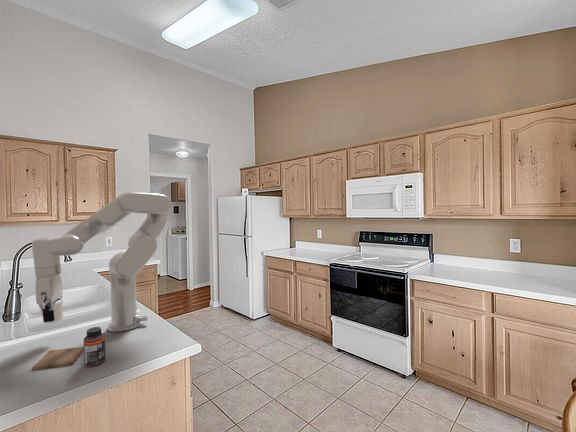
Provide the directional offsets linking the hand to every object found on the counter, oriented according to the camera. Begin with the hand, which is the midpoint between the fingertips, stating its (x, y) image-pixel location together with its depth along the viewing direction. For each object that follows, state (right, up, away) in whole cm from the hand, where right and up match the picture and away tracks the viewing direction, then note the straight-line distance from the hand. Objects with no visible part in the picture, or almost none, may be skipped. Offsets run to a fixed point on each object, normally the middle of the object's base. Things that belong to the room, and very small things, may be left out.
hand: (53, 317), depth 112 cm
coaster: (+11, -10, -11) cm, 19 cm away
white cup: (0, -1, 0) cm, 1 cm away
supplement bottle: (+25, -11, -14) cm, 30 cm away
